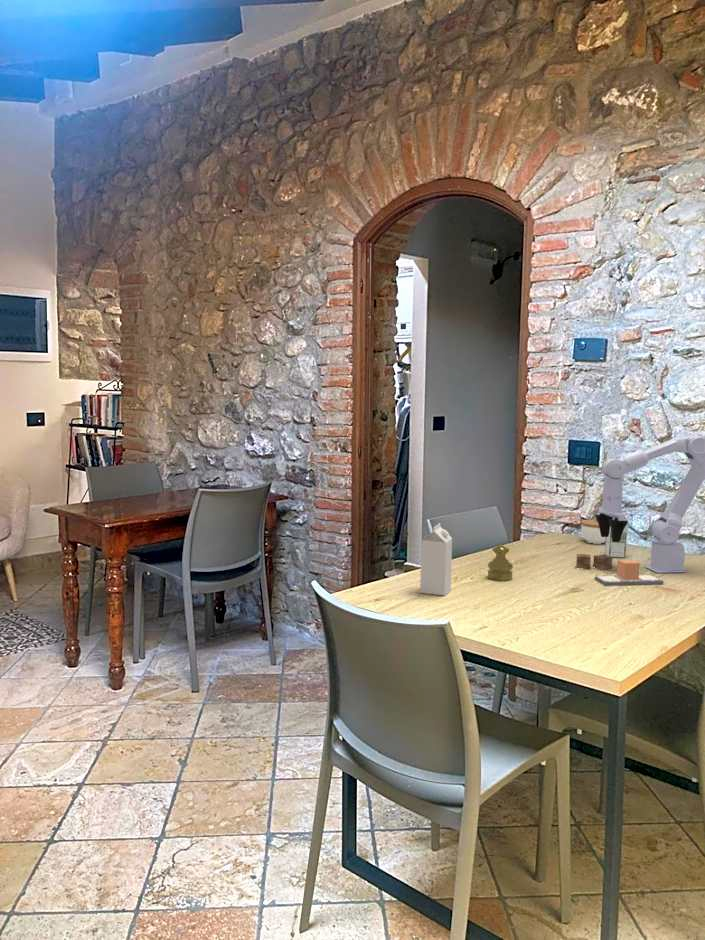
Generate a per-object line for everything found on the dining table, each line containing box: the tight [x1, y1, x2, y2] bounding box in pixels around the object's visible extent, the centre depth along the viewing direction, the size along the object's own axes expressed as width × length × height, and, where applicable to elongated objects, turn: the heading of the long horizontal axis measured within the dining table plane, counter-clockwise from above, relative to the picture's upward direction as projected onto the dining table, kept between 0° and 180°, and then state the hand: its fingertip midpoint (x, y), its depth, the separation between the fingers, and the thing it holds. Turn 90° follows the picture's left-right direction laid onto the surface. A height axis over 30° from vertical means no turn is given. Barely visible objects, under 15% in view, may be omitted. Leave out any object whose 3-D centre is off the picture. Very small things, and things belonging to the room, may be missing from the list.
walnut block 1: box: [575, 553, 592, 570], centre depth 245 cm, size 4×4×4 cm
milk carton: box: [419, 522, 453, 596], centre depth 214 cm, size 7×7×19 cm
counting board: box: [594, 574, 665, 587], centre depth 228 cm, size 18×7×1 cm, turn 97°
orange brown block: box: [616, 559, 640, 580], centre depth 228 cm, size 4×4×5 cm
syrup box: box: [604, 515, 629, 559], centre depth 261 cm, size 6×6×14 cm
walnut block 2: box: [592, 554, 613, 571], centre depth 244 cm, size 4×4×4 cm
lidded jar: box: [580, 517, 606, 545], centre depth 284 cm, size 11×11×9 cm
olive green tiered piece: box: [487, 544, 514, 582], centre depth 231 cm, size 7×7×10 cm
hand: (610, 539), depth 244 cm, fingers open, 7 cm apart
